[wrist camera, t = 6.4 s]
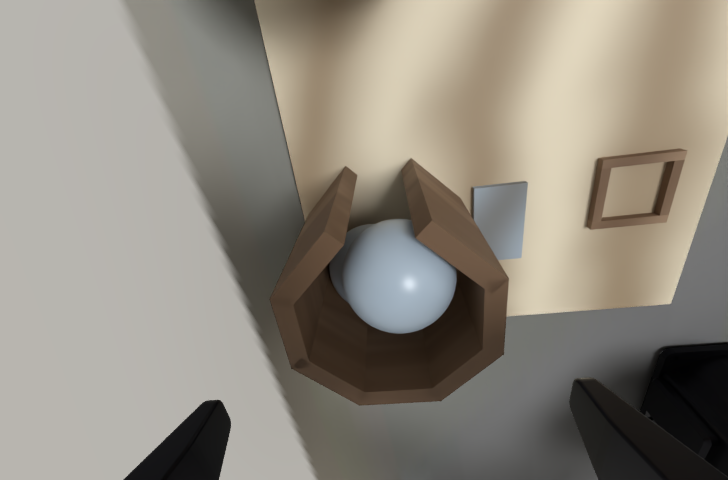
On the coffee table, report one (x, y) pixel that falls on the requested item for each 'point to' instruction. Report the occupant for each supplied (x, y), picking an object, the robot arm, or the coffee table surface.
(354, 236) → the slate-blue ball in tube
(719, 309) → the coffee table surface
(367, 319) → the slate-blue ball
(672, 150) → the cream wooden tray
